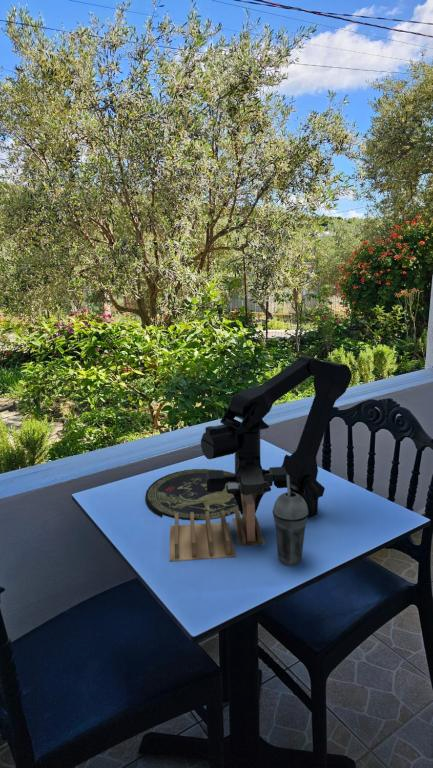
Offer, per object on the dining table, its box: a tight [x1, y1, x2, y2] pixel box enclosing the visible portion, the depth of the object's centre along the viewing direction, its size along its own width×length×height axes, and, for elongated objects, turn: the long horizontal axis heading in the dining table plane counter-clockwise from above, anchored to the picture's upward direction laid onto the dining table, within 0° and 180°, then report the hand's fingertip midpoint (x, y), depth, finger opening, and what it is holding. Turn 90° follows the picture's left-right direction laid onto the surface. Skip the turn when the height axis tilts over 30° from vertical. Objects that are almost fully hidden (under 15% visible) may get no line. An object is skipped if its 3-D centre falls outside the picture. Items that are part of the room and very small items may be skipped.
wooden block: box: [240, 493, 256, 542], centre depth 108 cm, size 2×9×9 cm, turn 5°
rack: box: [168, 510, 237, 563], centre depth 105 cm, size 14×14×4 cm
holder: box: [232, 509, 266, 547], centre depth 109 cm, size 6×12×3 cm, turn 5°
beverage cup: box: [272, 475, 309, 567], centre depth 96 cm, size 7×7×20 cm
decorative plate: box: [144, 468, 253, 521], centre depth 128 cm, size 30×2×30 cm
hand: (247, 513), depth 108 cm, fingers open, 3 cm apart
